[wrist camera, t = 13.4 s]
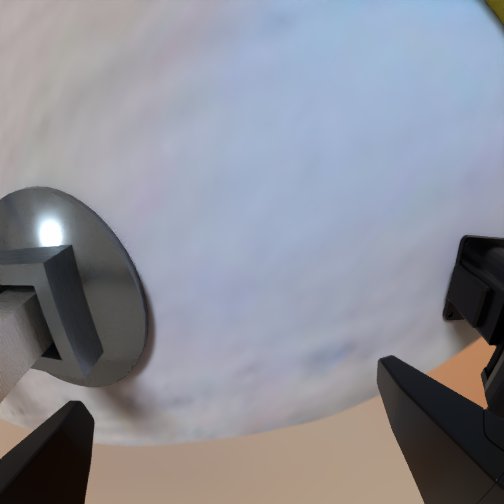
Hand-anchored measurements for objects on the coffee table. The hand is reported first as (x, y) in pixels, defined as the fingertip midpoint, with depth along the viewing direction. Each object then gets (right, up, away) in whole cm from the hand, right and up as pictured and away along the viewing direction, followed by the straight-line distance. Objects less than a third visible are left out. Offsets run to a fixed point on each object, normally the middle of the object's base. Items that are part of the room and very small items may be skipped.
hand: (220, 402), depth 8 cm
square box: (-16, 0, +14) cm, 21 cm away
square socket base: (-16, +1, +14) cm, 21 cm away
